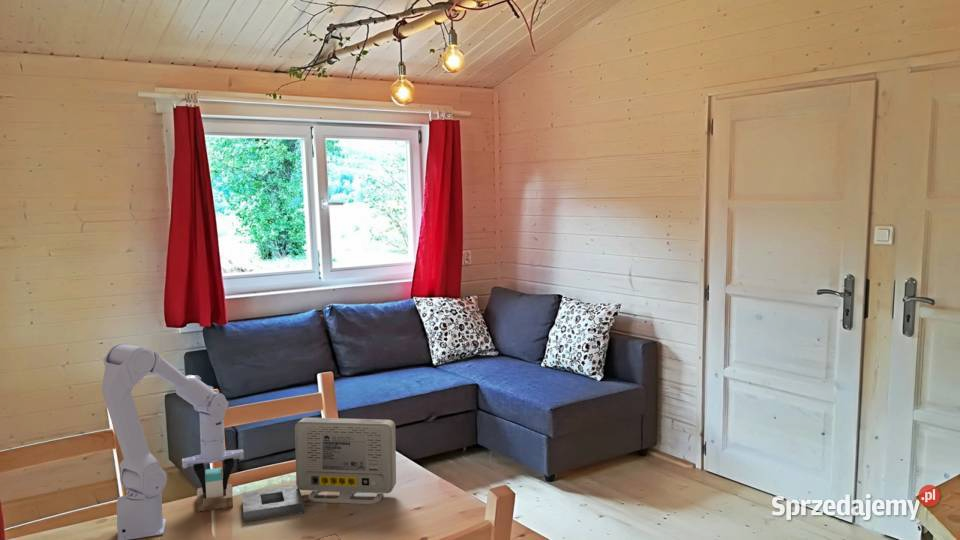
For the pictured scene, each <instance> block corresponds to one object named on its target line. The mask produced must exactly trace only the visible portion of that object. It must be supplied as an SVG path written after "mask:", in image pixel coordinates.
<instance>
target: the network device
mask: <svg viewBox="0 0 960 540" xmlns="http://www.w3.org/2000/svg"><path fill="white" fill-rule="evenodd" d="M396 445H397V444H396V424H395V422H394V420H391V419H377V418H376V419H374V418H371V419H369V418H368V419H367V418H339V417H337V418H334V417H302V418H301V419H300V420H299V421H298V422H296V424H295V426H294V446H295V481H296V482H295V484H296V485H297V487H298V488H299V489H300V491H311V492H310V493H309V495H308V500H309V501H310V502H313V503H331V504H355V505H356V504H359V505H360V504H361V505H373V504H376V503H379V502H380V501H381V499H382V497H383V496H384V494H390V493H392V491H393V490H394V488H395V486H396V484H397V465H396V464H397V455H396V453H397V450H396ZM319 492H339V495H338V497H335V498H321V497H319V498H318V497H315V496H316V495H317V494H318V493H319ZM355 493H367V494H368V493H369V494H376V496H375V497H374V499H352V497H353V495H354V494H355Z"/></svg>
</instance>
